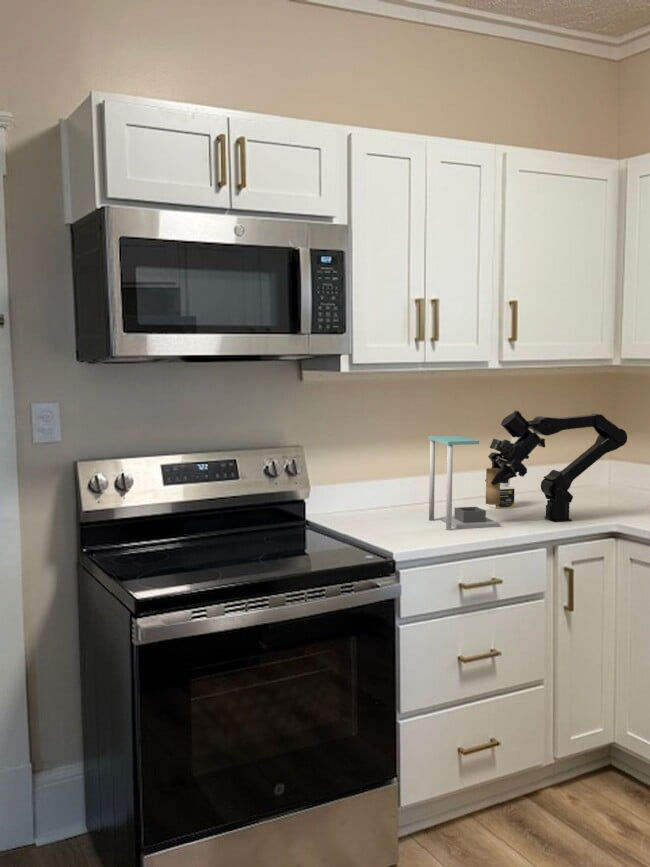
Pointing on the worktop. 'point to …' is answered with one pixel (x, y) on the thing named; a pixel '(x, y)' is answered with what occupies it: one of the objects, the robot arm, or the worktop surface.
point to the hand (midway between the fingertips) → (489, 483)
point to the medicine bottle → (505, 496)
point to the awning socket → (462, 515)
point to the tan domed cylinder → (492, 487)
